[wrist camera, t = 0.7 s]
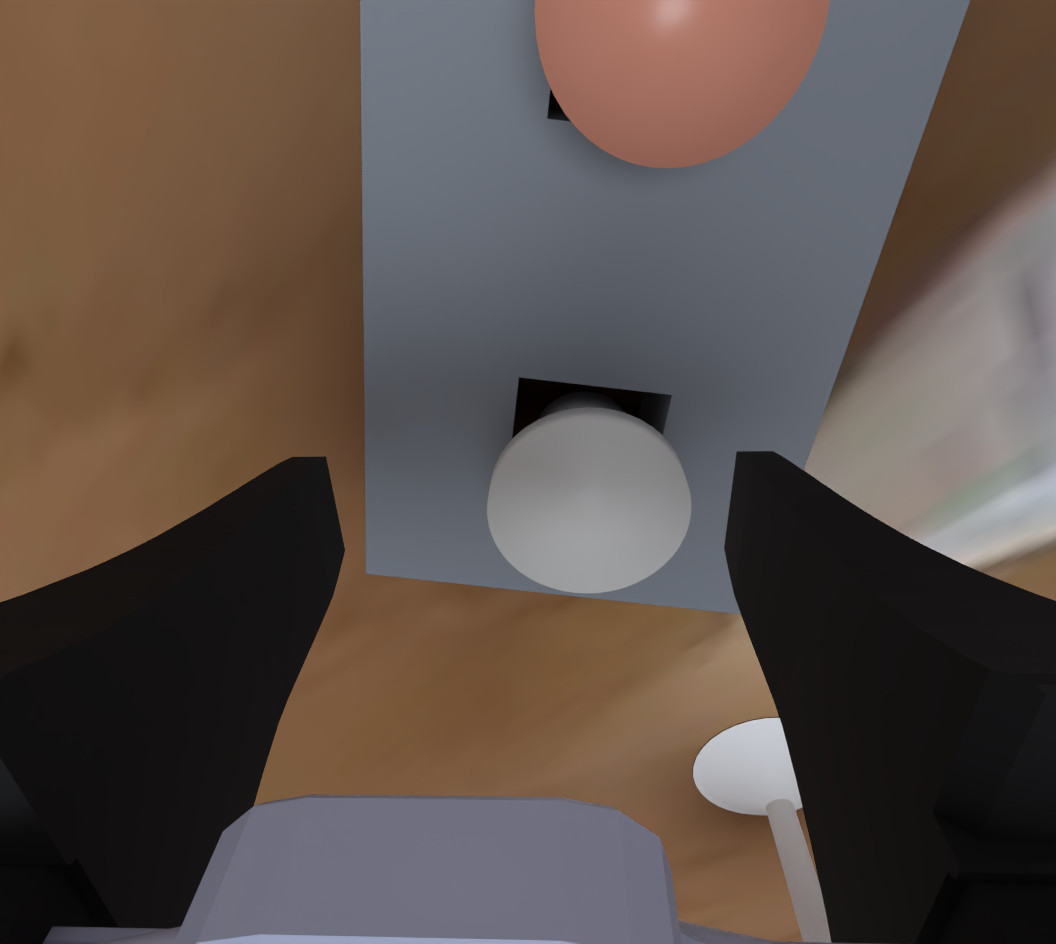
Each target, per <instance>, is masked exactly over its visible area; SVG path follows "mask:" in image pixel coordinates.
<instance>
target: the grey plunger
mask: <svg viewBox="0 0 1056 944" xmlns="http://www.w3.org/2000/svg"><path fill="white" fill-rule="evenodd" d="M690 517H691V496H690V490H689V487H688V483H687V480H686V477H685V474H684V470H683V467H682V464H681V462H680V460H679V457H678V455H677V453H676V452H675V450H674V449H673V447H672V446H671V444H670V443H669V442H668V441H667V440H666V439H665V438H664V436H663V435H662V434H661V433H659V432H658V431H657V430H656V429H655V428H653V427H652V426H650V425H649V424H647V423H646V422H644V421H642V420H641V419H638V418H636V417H634V416H632V415H630V414H626V412H625V411H624V409H623V408H622V407H621V406H620V405H619V404H618V403H616V402H615V401H614V400H612V399H611V398H609V397H607V396H604V395H602V394H599V393H594V392H574V393H570V394H567V395H564V396H561V397H559V398H557V399H556V400H554V401H553V402H551V403H550V404H549V405H548V406H547V407H546V408H545V409H544V410H543V412H542V413H541V414H540V416H539V418H538V420H537V421H535V422H533V423H532V424H530V425H528V426H527V427H525V428H524V429H523V430H522V431H520V432H519V433H518V434H517V435H516V436H515V437H514V438H513V439H512V440H511V441H510V442H509V443H508V444H507V446H506V447H505V448H504V450H503V451H502V453H501V454H500V456H499V458H498V460H497V462H496V464H495V467H494V470H493V473H492V477H491V483H490V489H489V495H488V501H487V518H488V525H489V528H490V532H491V535H492V537H493V539H494V542H495V544H496V546H497V547H498V549H499V550H500V552H501V553H502V555H503V556H504V557H505V558H506V560H507V561H508V562H509V563H510V564H511V565H512V566H513V567H515V568H516V569H517V570H518V571H519V572H521V573H522V574H524V575H525V576H526V577H528V578H530V579H532V580H533V581H535V582H537V583H539V584H542V585H544V586H547V587H550V588H553V589H557V590H560V591H566V592H572V593H585V594H588V593H602V592H609V591H614V590H618V589H622V588H625V587H628V586H630V585H633V584H635V583H637V582H639V581H641V580H643V579H645V578H647V577H649V576H650V575H652V574H653V573H655V572H656V571H657V570H659V569H660V568H661V567H662V566H663V565H665V564H666V563H667V562H668V561H669V559H670V558H671V557H672V556H673V555H674V554H675V552H676V551H677V550H678V548H679V547H680V545H681V543H682V541H683V539H684V537H685V535H686V532H687V530H688V527H689V523H690Z"/></svg>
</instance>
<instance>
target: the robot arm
mask: <svg viewBox="0 0 1056 944" xmlns="http://www.w3.org/2000/svg"><path fill="white" fill-rule="evenodd" d="M724 551H725V555H726V560H727V565H728V570H729V575H730V579H731V583H732V588H733V592H734V596H735V599H736V602H737V604H738V607H739V610H740V613H741V615H742V618H743V621H744V623H745V626H746V629H747V631H748V634H749V637H750V639H751V642H752V645H753V647H754V650H755V652H756V655H757V658H758V660H759V663H760V665H761V668H762V671H763V673H764V676H765V679H766V681H767V684H768V686H769V689H770V692H771V694H772V697H773V700H774V702H775V705H776V708H777V711H778V714H779V718H780V721H781V724H782V727H783V731H784V735H785V738H786V742H787V746H788V750H789V754H790V758H791V762H792V766H793V770H794V774H795V777H796V781H797V786H798V790H799V794H800V798H801V803H802V807H803V811H804V815H805V820H806V824H807V828H808V832H809V837H810V841H811V846H812V850H813V855H814V860H815V864H816V869H817V874H818V878H819V883H820V888H821V893H822V897H823V902H824V907H825V911H826V917H827V922H828V927H829V932H830V938H831V943H823V942H775V941H769V940H765V939H760V938H756V937H751V936H747V935H743V934H738V933H734V932H729V931H725V930H720V929H716V928H711V927H707V926H702V925H698V924H693V923H689V922H684V921H680V920H678V915H677V908H676V901H675V894H674V887H673V879H672V872H671V869H670V866H669V863H668V860H667V857H666V854H665V851H664V848H663V845H662V843H661V840H660V837H658V836H657V835H655V834H654V833H652V832H651V831H649V830H647V829H646V828H644V827H643V826H641V825H640V824H638V823H637V822H635V821H634V820H632V819H631V818H629V817H627V816H626V815H624V814H623V813H621V812H620V811H618V810H617V809H615V808H614V807H612V806H606V805H601V804H595V803H589V802H584V801H578V800H573V799H567V798H562V797H492V796H403V795H314V794H312V795H306V796H300V797H294V798H288V799H283V800H277V801H271V802H265V803H262V804H259V805H256V806H254V802H255V799H256V795H257V792H258V788H259V785H260V781H261V778H262V774H263V771H264V768H265V765H266V761H267V758H268V755H269V752H270V749H271V745H272V742H273V739H274V736H275V733H276V730H277V726H278V723H279V721H280V718H281V715H282V713H283V710H284V708H285V705H286V703H287V700H288V698H289V695H290V693H291V691H292V689H293V686H294V684H295V682H296V680H297V677H298V675H299V673H300V671H301V668H302V666H303V664H304V661H305V659H306V657H307V655H308V652H309V650H310V648H311V646H312V643H313V641H314V639H315V637H316V634H317V632H318V630H319V628H320V625H321V623H322V621H323V618H324V616H325V614H326V611H327V609H328V607H329V604H330V602H331V599H332V597H333V594H334V590H335V587H336V583H337V580H338V576H339V572H340V568H341V564H342V560H343V556H344V552H345V548H344V543H343V538H342V533H341V528H340V524H339V519H338V514H337V509H336V504H335V499H334V494H333V489H332V484H331V479H330V475H329V470H328V465H327V460H326V457H291V458H289V459H287V460H285V461H283V462H281V463H279V464H277V465H276V466H274V467H272V468H270V469H269V470H267V471H265V472H264V473H262V474H260V475H259V476H257V477H256V478H254V479H252V480H251V481H249V482H248V483H246V484H244V485H243V486H241V487H240V488H238V489H236V490H235V491H233V492H232V493H230V494H228V495H227V496H225V497H224V498H222V499H220V500H219V501H217V502H216V503H214V504H212V505H211V506H209V507H207V508H206V509H204V510H202V511H201V512H199V513H197V514H195V515H194V516H192V517H190V518H188V519H187V520H185V521H183V522H181V523H180V524H178V525H176V526H174V527H172V528H171V529H169V530H167V531H165V532H164V533H162V534H160V535H158V536H157V537H155V538H153V539H151V540H149V541H147V542H145V543H143V544H141V545H139V546H137V547H135V548H133V549H131V550H129V551H127V552H125V553H123V554H121V555H118V556H116V557H114V558H112V559H110V560H108V561H106V562H103V563H101V564H99V565H97V566H94V567H92V568H90V569H88V570H85V571H83V572H80V573H78V574H75V575H72V576H70V577H67V578H65V579H62V580H60V581H57V582H55V583H52V584H49V585H47V586H44V587H42V588H39V589H37V590H34V591H31V592H29V593H26V594H24V595H21V596H18V597H15V598H12V599H9V600H6V601H3V602H0V944H1056V601H1054V600H1051V599H1048V598H1046V597H1043V596H1040V595H1037V594H1034V593H1032V592H1029V591H1027V590H1024V589H1022V588H1019V587H1016V586H1014V585H1011V584H1009V583H1006V582H1004V581H1001V580H999V579H996V578H994V577H991V576H989V575H986V574H984V573H982V572H979V571H977V570H975V569H972V568H970V567H968V566H966V565H963V564H961V563H959V562H957V561H955V560H953V559H951V558H949V557H947V556H945V555H943V554H941V553H939V552H937V551H934V550H932V549H930V548H928V547H926V546H924V545H922V544H920V543H918V542H917V541H915V540H913V539H911V538H909V537H907V536H905V535H904V534H902V533H900V532H898V531H897V530H895V529H893V528H892V527H890V526H888V525H886V524H885V523H883V522H881V521H880V520H878V519H876V518H874V517H873V516H871V515H870V514H868V513H866V512H865V511H863V510H862V509H860V508H858V507H857V506H855V505H854V504H852V503H851V502H849V501H848V500H846V499H845V498H843V497H842V496H840V495H839V494H837V493H836V492H834V491H833V490H831V489H830V488H828V487H827V486H825V485H824V484H822V483H821V482H819V481H818V480H817V479H815V478H814V477H812V476H811V475H809V474H808V473H806V472H805V471H803V470H802V469H801V468H799V467H798V466H796V465H795V464H793V463H792V462H790V461H789V460H787V459H786V458H784V457H782V456H781V455H779V454H777V453H775V452H774V451H737V452H736V460H735V468H734V475H733V483H732V491H731V498H730V506H729V514H728V521H727V529H726V537H725V544H724Z"/></svg>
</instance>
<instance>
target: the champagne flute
mask: <svg viewBox="0 0 1056 944" xmlns="http://www.w3.org/2000/svg"><path fill="white" fill-rule="evenodd" d="M693 777H694V781H695V784H696V786H697V788H698V789H699V791H700V793H701V794H702V795H703V796H704V797H706V798H707V799H708V800H709V801H710V802H712V803H714V804H715V805H717V806H719V807H721V808H724V809H727V810H729V811H733V812H737V813H742V814H751V815H767V816H768V818H769V822H770V826H771V829H772V833H773V836H774V840H775V843H776V847H777V850H778V854H779V858H780V861H781V865H782V868H783V872H784V875H785V879H786V882H787V886H788V890H789V893H790V897H791V900H792V904H793V907H794V911H795V914H796V918H797V922H798V925H799V929H800V932H801V936H802V939H803V942H823V943H831V938H830V932H829V927H828V922H827V917H826V911H825V907H824V902H823V897H822V893H821V888H820V885H819V882H818V879H817V875H816V872H815V869H814V866H813V863H812V860H811V857H810V854H809V851H808V847H807V844H806V841H805V838H804V835H803V832H802V829H801V826H800V822H799V819H798V816H797V813H796V810H798V809H800V808H802V803H801V798H800V794H799V790H798V786H797V781H796V777H795V774H794V770H793V766H792V762H791V758H790V754H789V750H788V746H787V742H786V738H785V735H784V731H783V727H782V724H781V721H780V718H764V719H758V720H752V721H748V722H745V723H742V724H739V725H736V726H733V727H731V728H729V729H727V730H725V731H723V732H721V733H720V734H718V735H717V736H715V737H714V738H712V739H711V740H710V741H709V742H708V743H707V744H706V745H705V746H704V747H703V748H702V750H701V751H700V753H699V754H698V756H697V757H696V760H695V763H694V766H693Z"/></svg>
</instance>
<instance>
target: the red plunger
mask: <svg viewBox="0 0 1056 944" xmlns="http://www.w3.org/2000/svg"><path fill="white" fill-rule="evenodd" d="M829 4H830V0H535V29H536V39H537V44H538V50H539V55H540V60H541V63H542V66H543V69H544V73H545V76H546V79H547V81H548V83H549V85H550V88H551V90H552V92H553V95H554V97H555V98H556V100H557V102H558V103H559V105H560V107H561V108H562V110H563V112H564V113H565V114H566V116H567V117H568V118H569V119H570V121H571V122H572V123H573V124H574V126H575V127H576V128H577V129H578V130H579V131H580V132H581V133H582V134H583V135H584V136H585V137H586V138H587V139H588V140H590V141H591V142H592V143H594V144H595V145H597V146H598V147H599V148H601V149H602V150H604V151H605V152H607V153H609V154H611V155H613V156H615V157H617V158H619V159H622V160H625V161H627V162H630V163H633V164H637V165H642V166H647V167H652V168H679V167H688V166H692V165H697V164H701V163H705V162H708V161H710V160H713V159H716V158H718V157H721V156H723V155H725V154H727V153H729V152H731V151H733V150H735V149H736V148H738V147H740V146H741V145H743V144H744V143H746V142H747V141H749V140H750V139H751V138H753V137H754V136H756V135H757V134H758V133H759V132H760V131H761V130H762V129H764V128H765V127H766V126H767V125H768V124H769V123H770V122H771V121H772V120H773V119H774V118H775V117H776V116H777V115H778V114H779V112H780V111H781V110H782V109H783V108H784V107H785V106H786V104H787V103H788V101H789V100H790V99H791V97H792V96H793V95H794V93H795V92H796V91H797V89H798V87H799V85H800V84H801V82H802V80H803V79H804V77H805V75H806V73H807V72H808V70H809V67H810V65H811V63H812V61H813V59H814V56H815V54H816V52H817V49H818V46H819V43H820V40H821V37H822V34H823V31H824V28H825V23H826V19H827V14H828V10H829Z"/></svg>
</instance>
